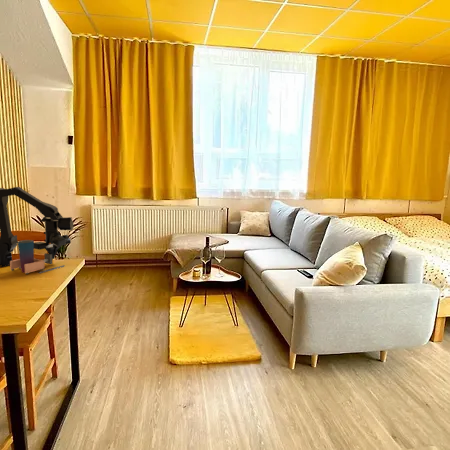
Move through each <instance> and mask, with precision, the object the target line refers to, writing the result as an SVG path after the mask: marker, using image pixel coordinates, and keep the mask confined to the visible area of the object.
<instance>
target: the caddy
mask: <svg viewBox="0 0 450 450" xmlns="http://www.w3.org/2000/svg"><path fill="white" fill-rule="evenodd" d="M45 264H48V265H52V264H53V259H52V254H49V253H48V252H45V253H44V259H39V258H35V257H34V263H29V264H25V265H24V267H25V275H29V273H32V272H33V273H34V272H35V271H44V270H45V268H46V266H45ZM9 266H10V267H9V269H10V271H14V270H15V269H21V268H20V267H21V263H20V258H19V259H14V260H13V259H12V261H10V265H9Z"/></svg>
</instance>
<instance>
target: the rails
mask: <svg viewBox="0 0 450 450" xmlns="http://www.w3.org/2000/svg"><path fill="white" fill-rule="evenodd" d="M64 266H65V267H66V265H64V264H63V265H59V266H55V267H51V268H49V269H44V270H39V271H38V272H37V274H43V273H46V272H50V271H54V270H57V268H58V269H61V268H64ZM60 267H61V268H60ZM19 269H21V267H20V268H19Z"/></svg>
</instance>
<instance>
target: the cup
mask: <svg viewBox="0 0 450 450" xmlns="http://www.w3.org/2000/svg"><path fill="white" fill-rule="evenodd" d="M17 241H18V243H17V248H18V254H19V259H20V263H21V268H20V269H21V272H22V273H23V274H24V273H25V267H24V265H25V264H29V263H34V258H35V257H34V255H35V249H34V243H35V241H34V240H33V239H24V240H22V239H21V240H17Z"/></svg>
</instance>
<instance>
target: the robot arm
mask: <svg viewBox="0 0 450 450" xmlns="http://www.w3.org/2000/svg"><path fill="white" fill-rule="evenodd" d="M10 196H16V197H17V198H19V199H21V200H22V201H23V202H25V203H27V204H29V205H31V206H32V207H33V208H36V209H37V210H38V212H39V213H40V214H41V215H42V216H43V217H42V218H41V219H40V222H42V223H44V229H45V231H43V235H45V239H44V240H43V242H42V241H36V242H35V241H34V250H45V251H46V253H48V254H52V260H55V258H56V255H57V252H58V249H60V248H62V246H66V245H68V244H71V243H72V242H71V241H72V240H71V238H70V237H69V234H64V235H61V233H60V231H73V229H74V220H73V217H71V216H70V217H63V215H62V214H61V213H60V212H59V209H58V207H57V206H56V205H53V204H50V203H48V202H45V201H42V200H40V199H39V198H38V197H36V196H34V195H33V194H32V193H30V192H28V191H26V190H24V189H23V188H22V187H20V186H14V187H10V188H4V187H0V267H2V268H3V267H8V266H10V261H13V256H12V255H13V254H12V252H14V250H15V248H16V247H18V241H19V240H18V235H14V234H13V233H12V228H11V223H10V217H9V211H8V202H9V197H10ZM58 230H59V231H58Z"/></svg>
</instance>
